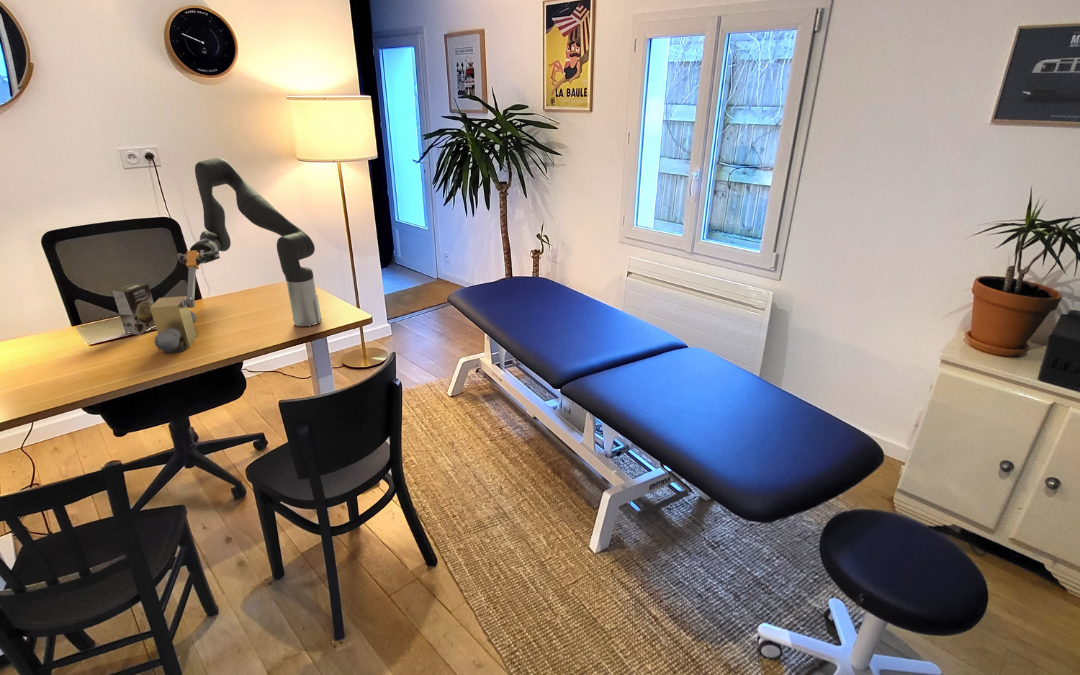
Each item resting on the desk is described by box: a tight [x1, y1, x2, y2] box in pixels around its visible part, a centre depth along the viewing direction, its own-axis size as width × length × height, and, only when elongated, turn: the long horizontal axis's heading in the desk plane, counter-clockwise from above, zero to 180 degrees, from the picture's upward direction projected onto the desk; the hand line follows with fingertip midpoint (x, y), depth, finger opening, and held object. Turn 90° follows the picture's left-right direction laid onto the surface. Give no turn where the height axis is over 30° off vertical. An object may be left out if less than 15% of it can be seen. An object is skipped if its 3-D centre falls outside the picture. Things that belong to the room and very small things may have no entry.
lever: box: [186, 250, 200, 309], centre depth 188 cm, size 3×3×22 cm
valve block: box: [150, 295, 198, 355], centre depth 185 cm, size 9×21×16 cm, turn 16°
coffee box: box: [111, 282, 155, 336], centre depth 195 cm, size 9×6×16 cm
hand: (191, 262), depth 189 cm, fingers closed on lever, 3 cm apart
